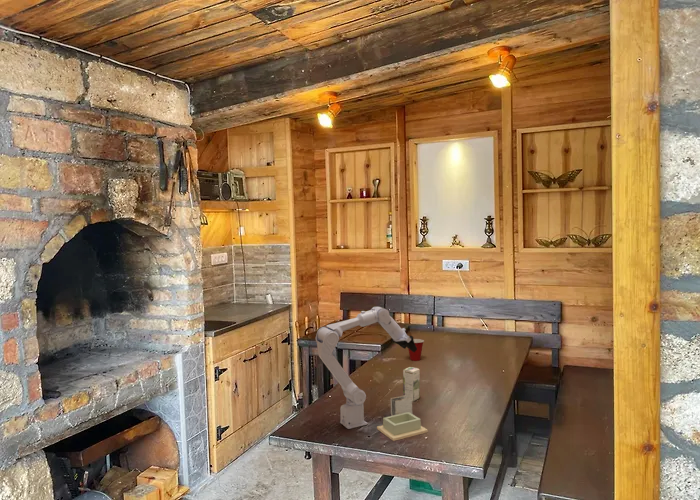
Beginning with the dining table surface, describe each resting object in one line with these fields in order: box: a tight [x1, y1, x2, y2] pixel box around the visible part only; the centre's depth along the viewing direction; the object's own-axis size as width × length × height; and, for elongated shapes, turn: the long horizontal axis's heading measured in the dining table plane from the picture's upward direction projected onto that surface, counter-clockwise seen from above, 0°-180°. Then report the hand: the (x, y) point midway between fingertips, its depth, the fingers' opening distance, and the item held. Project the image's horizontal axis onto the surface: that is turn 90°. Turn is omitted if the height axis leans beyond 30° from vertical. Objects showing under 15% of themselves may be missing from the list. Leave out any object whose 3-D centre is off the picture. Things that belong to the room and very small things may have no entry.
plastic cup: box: [407, 338, 425, 362], centre depth 311 cm, size 11×11×12 cm
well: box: [376, 412, 429, 442], centre depth 211 cm, size 16×13×5 cm
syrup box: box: [402, 366, 421, 403], centre depth 246 cm, size 6×6×14 cm
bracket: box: [390, 395, 413, 416], centre depth 226 cm, size 8×4×8 cm, turn 116°
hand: (410, 348), depth 229 cm, fingers open, 7 cm apart
